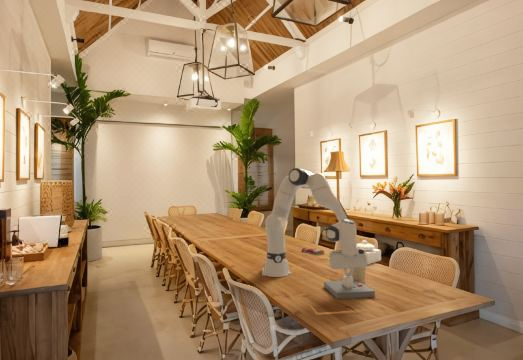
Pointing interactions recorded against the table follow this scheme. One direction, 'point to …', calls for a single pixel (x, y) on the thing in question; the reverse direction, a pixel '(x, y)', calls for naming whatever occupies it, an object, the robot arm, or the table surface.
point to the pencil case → (313, 251)
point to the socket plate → (349, 290)
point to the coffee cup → (359, 274)
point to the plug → (348, 282)
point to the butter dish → (370, 252)
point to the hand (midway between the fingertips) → (348, 276)
